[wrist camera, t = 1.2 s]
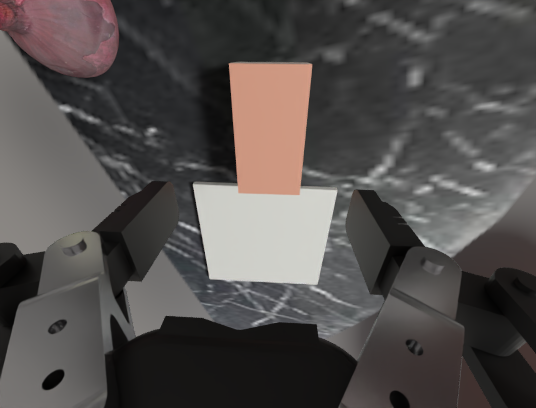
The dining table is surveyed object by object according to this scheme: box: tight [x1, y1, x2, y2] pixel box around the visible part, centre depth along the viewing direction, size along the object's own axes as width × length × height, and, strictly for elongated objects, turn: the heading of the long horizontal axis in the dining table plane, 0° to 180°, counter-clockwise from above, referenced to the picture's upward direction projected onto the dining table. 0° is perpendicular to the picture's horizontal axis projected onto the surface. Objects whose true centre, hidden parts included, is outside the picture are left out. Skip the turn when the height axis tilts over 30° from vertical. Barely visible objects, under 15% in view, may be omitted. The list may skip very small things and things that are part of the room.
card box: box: [229, 62, 312, 195], centre depth 20 cm, size 10×6×4 cm, turn 0°
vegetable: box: [0, 0, 119, 78], centre depth 13 cm, size 6×6×10 cm
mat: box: [193, 182, 337, 285], centre depth 28 cm, size 15×15×1 cm
